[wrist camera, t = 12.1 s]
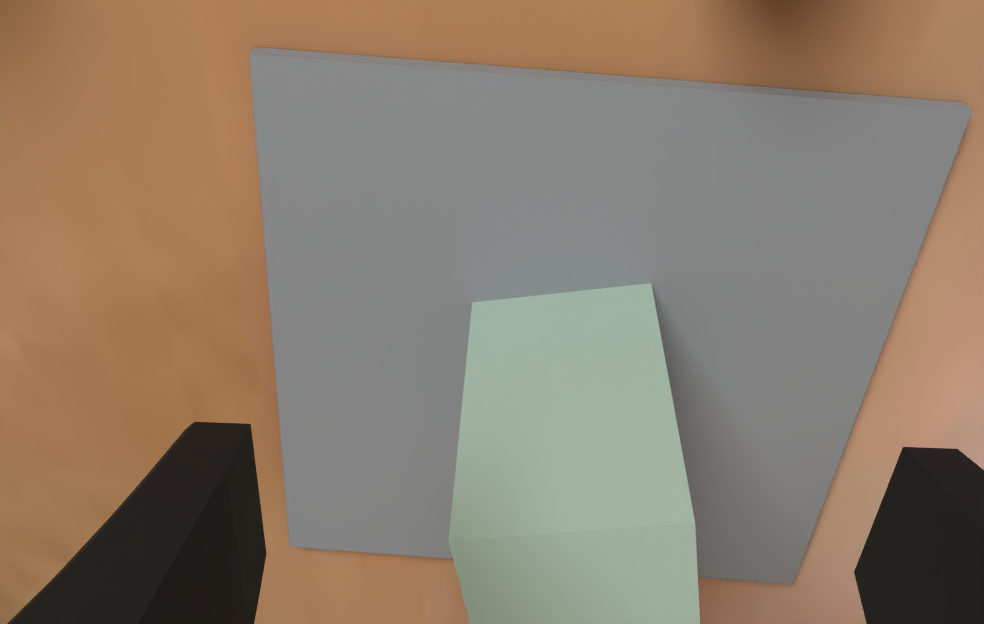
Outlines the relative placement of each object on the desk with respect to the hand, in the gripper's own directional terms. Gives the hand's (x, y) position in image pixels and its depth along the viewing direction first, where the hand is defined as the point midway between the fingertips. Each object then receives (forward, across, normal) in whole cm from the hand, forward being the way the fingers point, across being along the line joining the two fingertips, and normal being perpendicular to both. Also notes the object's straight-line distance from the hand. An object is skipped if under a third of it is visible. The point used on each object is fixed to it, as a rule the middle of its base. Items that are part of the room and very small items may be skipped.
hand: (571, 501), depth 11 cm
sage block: (+10, -1, +6) cm, 12 cm away
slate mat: (+10, -1, +6) cm, 12 cm away
